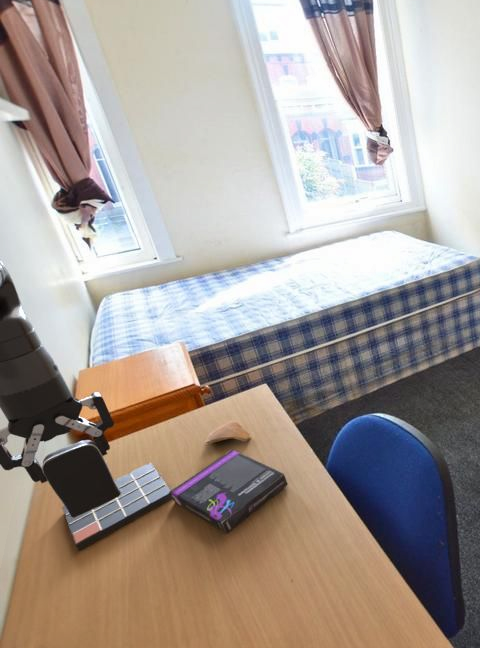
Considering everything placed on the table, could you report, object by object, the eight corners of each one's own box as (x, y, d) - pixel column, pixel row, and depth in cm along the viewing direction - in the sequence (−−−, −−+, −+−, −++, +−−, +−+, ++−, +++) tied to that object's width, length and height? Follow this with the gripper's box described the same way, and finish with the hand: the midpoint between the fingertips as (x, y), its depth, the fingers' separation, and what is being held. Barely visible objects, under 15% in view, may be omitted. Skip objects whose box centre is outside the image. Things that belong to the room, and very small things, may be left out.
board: (79, 550, 89) (75, 544, 88) (65, 512, 99) (61, 506, 98) (174, 497, 100) (171, 491, 99) (153, 467, 109) (150, 461, 109)
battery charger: (120, 485, 83) (92, 433, 78) (123, 495, 80) (94, 442, 76) (69, 509, 78) (36, 455, 74) (70, 521, 76) (36, 465, 71)
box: (174, 503, 98) (226, 536, 89) (167, 491, 97) (219, 522, 87) (237, 460, 109) (289, 484, 99) (232, 448, 108) (284, 472, 98)
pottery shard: (251, 440, 115) (248, 432, 114) (209, 456, 111) (205, 448, 110) (248, 420, 124) (245, 412, 123) (208, 434, 119) (204, 426, 118)
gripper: (82, 353, 77) (123, 434, 83) (-45, 394, 67) (13, 482, 74) (90, 365, 72) (133, 451, 79) (-45, 411, 63) (17, 504, 69)
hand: (75, 466), depth 76 cm, fingers closed on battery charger, 7 cm apart
